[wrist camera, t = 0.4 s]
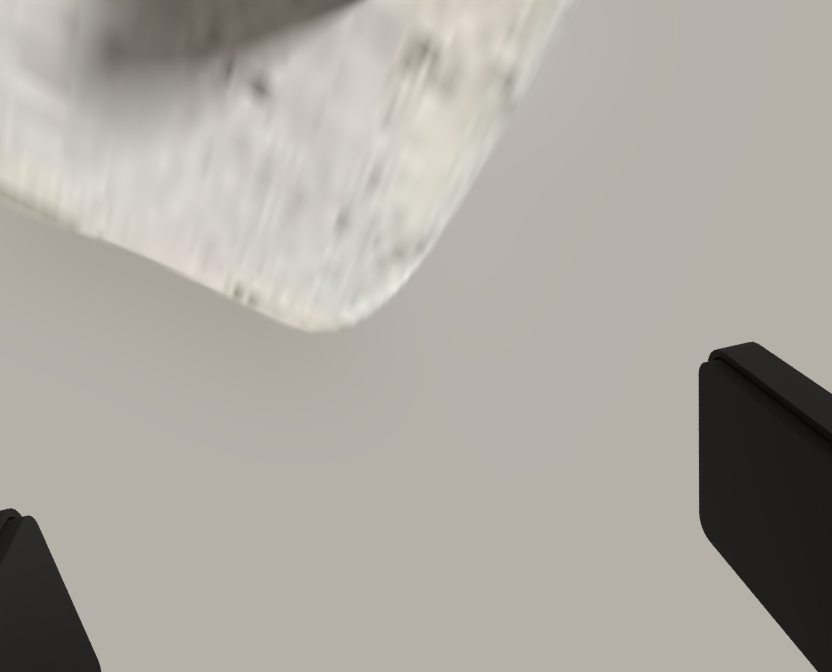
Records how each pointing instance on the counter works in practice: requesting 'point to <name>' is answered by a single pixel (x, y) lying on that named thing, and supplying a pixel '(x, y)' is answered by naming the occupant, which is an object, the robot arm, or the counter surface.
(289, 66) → the counter surface
